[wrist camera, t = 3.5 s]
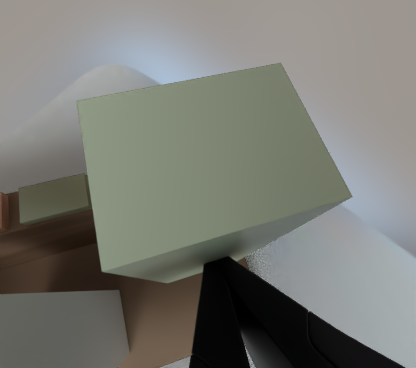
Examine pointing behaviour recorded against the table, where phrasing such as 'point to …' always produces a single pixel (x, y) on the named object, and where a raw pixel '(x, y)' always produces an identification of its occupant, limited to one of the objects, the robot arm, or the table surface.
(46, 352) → the light grey tall block
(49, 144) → the table surface
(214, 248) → the sage key
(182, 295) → the keypad base
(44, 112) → the table surface
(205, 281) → the robot arm
